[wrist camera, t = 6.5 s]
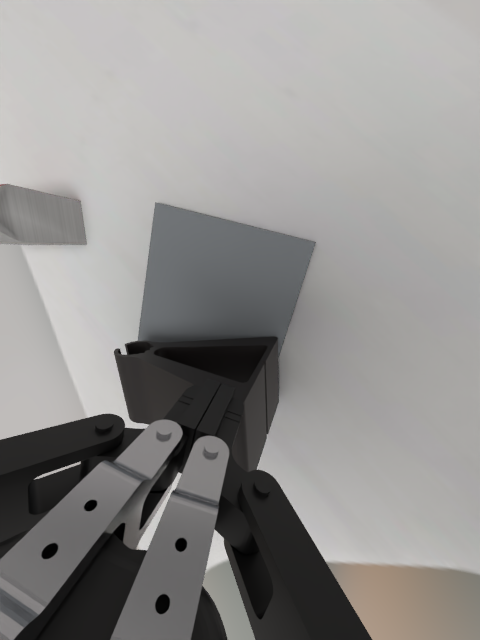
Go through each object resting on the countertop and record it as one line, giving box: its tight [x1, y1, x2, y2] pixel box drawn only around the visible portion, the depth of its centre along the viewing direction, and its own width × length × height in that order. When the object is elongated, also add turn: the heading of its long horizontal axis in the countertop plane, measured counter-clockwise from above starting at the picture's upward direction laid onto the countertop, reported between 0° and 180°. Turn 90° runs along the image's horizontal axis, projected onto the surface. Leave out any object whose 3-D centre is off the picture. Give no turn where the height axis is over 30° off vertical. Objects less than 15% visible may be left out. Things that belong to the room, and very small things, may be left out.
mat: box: [138, 202, 316, 357], centre depth 22 cm, size 13×18×1 cm
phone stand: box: [114, 336, 279, 472], centre depth 19 cm, size 9×6×12 cm
